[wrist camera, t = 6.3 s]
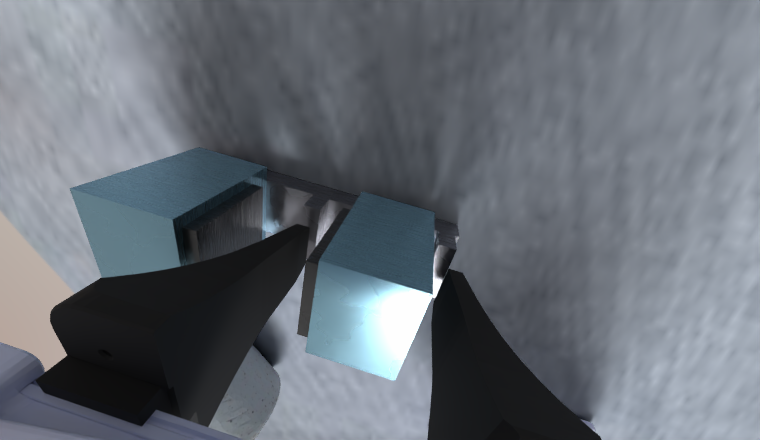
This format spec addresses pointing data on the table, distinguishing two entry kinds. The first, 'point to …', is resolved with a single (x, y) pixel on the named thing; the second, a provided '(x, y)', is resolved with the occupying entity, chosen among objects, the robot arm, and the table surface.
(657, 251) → the table surface
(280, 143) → the table surface
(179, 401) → the robot arm
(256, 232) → the rail
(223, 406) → the ceramic mug
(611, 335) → the table surface
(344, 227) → the teal brushed-finish brick
